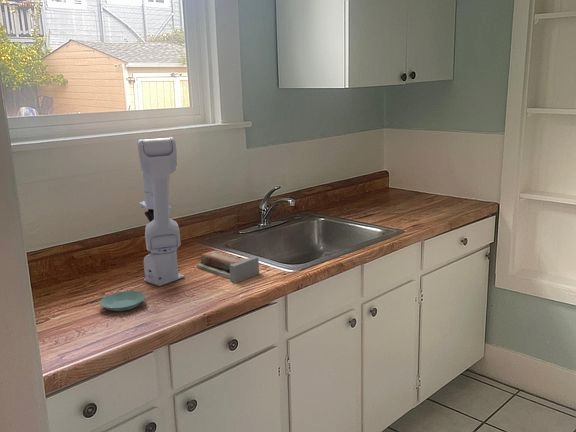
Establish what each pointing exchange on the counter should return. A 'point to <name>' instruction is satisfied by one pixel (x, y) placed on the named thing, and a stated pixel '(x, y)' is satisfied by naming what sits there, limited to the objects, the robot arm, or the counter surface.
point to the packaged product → (217, 263)
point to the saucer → (122, 300)
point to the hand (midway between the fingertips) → (157, 232)
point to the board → (244, 269)
